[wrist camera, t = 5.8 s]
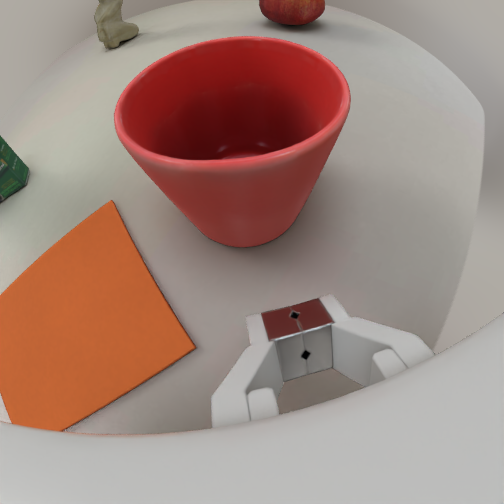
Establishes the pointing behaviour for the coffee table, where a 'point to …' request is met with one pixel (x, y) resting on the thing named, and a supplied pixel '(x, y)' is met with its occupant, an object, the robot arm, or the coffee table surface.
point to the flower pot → (235, 132)
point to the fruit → (292, 10)
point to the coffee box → (11, 171)
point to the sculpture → (112, 24)
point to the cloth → (83, 327)
